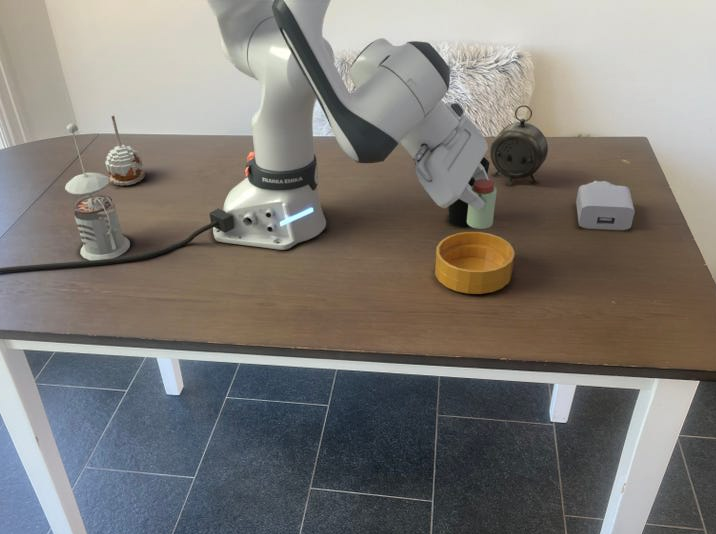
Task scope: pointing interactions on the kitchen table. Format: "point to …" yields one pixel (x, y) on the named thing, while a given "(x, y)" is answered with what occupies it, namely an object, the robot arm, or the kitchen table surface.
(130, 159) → the caramel apple
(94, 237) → the french press
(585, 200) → the charger
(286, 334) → the kitchen table surface
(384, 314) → the kitchen table surface
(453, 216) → the cup
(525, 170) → the alarm clock
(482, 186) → the container
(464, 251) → the bowl
